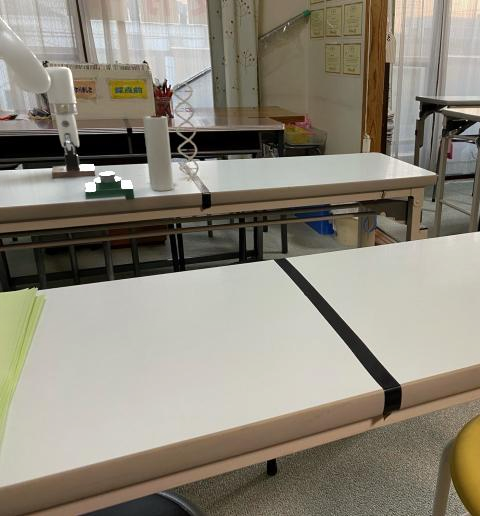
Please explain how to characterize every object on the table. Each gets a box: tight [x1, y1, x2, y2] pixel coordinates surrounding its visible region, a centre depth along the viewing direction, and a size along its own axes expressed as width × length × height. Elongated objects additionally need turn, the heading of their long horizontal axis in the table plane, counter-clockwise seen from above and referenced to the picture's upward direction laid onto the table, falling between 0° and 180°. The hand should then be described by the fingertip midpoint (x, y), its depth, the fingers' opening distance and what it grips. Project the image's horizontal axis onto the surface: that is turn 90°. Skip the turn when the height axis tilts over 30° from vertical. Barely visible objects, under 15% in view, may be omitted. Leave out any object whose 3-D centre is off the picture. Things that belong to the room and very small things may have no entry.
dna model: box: [171, 82, 200, 182], centre depth 164 cm, size 7×6×30 cm
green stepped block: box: [84, 176, 135, 201], centre depth 144 cm, size 12×10×5 cm
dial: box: [64, 154, 81, 169], centre depth 165 cm, size 4×4×4 cm
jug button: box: [98, 171, 116, 181], centre depth 143 cm, size 4×4×2 cm
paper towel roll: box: [142, 115, 175, 192], centre depth 152 cm, size 7×6×21 cm
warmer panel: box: [51, 163, 96, 179], centre depth 166 cm, size 12×10×3 cm
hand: (72, 164), depth 165 cm, fingers open, 9 cm apart
